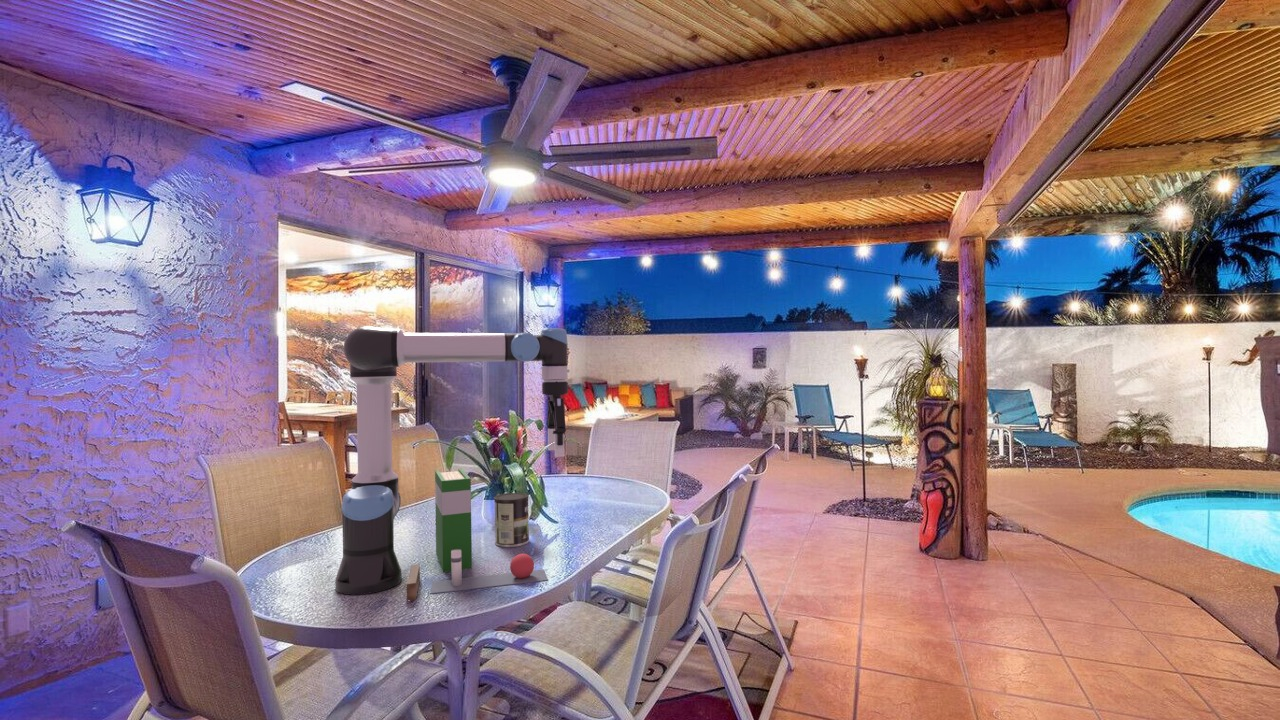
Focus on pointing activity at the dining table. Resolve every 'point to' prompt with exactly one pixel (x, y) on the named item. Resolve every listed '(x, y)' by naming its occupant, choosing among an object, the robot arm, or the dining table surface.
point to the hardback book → (453, 517)
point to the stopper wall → (413, 582)
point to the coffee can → (511, 520)
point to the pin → (456, 567)
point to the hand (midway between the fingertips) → (556, 453)
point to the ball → (522, 566)
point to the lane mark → (486, 582)
